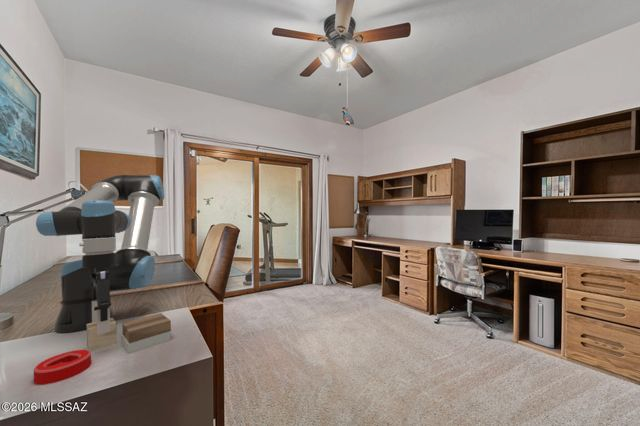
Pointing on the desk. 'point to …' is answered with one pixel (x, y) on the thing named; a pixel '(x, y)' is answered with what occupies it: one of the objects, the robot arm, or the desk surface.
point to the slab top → (145, 327)
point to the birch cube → (100, 336)
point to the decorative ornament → (62, 367)
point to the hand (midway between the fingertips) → (100, 326)
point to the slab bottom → (144, 342)
